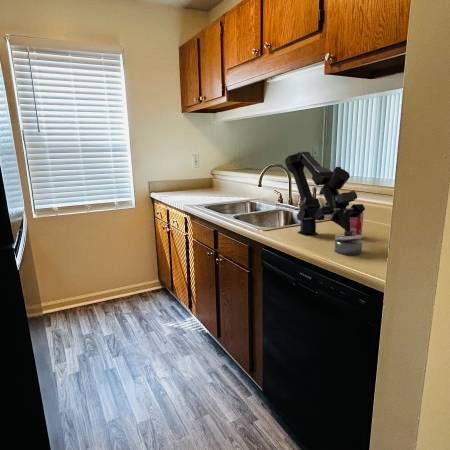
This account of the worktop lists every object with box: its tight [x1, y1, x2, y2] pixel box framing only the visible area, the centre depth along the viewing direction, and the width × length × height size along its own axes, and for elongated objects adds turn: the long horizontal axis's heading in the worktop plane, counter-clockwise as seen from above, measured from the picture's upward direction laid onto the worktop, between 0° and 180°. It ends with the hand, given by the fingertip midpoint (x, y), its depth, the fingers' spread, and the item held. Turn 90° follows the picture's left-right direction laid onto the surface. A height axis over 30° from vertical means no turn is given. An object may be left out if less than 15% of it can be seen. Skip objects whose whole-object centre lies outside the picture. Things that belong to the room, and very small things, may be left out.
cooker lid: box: [334, 230, 364, 240], centre depth 123 cm, size 10×10×3 cm
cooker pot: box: [334, 239, 363, 257], centre depth 124 cm, size 9×9×4 cm
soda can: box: [344, 211, 364, 235], centre depth 144 cm, size 7×7×12 cm
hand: (348, 230), depth 123 cm, fingers closed, pressing on cooker lid
